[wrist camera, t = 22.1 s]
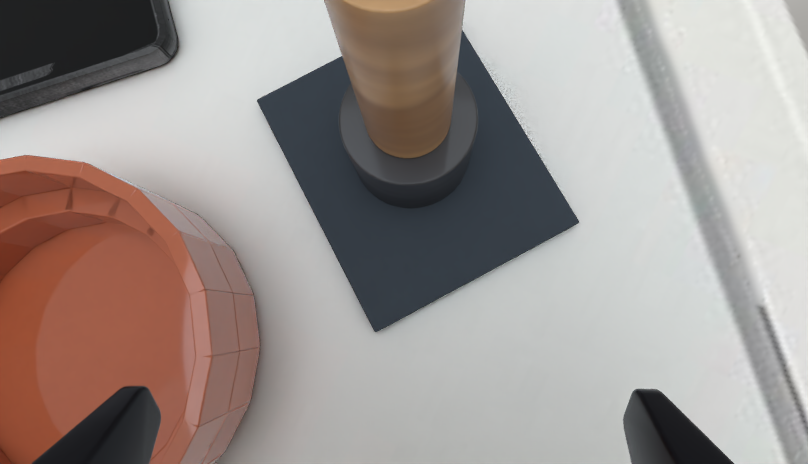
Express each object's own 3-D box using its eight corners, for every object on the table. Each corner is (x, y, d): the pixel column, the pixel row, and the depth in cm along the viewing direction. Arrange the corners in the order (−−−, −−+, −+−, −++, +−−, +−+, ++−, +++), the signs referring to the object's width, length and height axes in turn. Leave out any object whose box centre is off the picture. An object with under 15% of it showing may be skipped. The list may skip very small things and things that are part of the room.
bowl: (318, 420, 21) (281, 455, 16) (14, 585, 21) (-130, 679, 15) (185, 141, 24) (114, 89, 18) (-90, 283, 23) (-247, 273, 18)
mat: (575, 224, 22) (580, 222, 22) (376, 332, 22) (374, 332, 21) (445, 9, 24) (445, 1, 24) (260, 105, 24) (256, 99, 23)
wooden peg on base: (438, 228, 22) (452, 105, 9) (333, 178, 23) (210, -4, 10) (489, 126, 23) (568, -123, 10) (386, 79, 23) (334, -212, 10)
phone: (-159, 2, 24) (135, -93, 25) (-134, 15, 26) (147, -76, 26) (-139, 149, 23) (172, 48, 23) (-113, 156, 24) (183, 60, 24)
